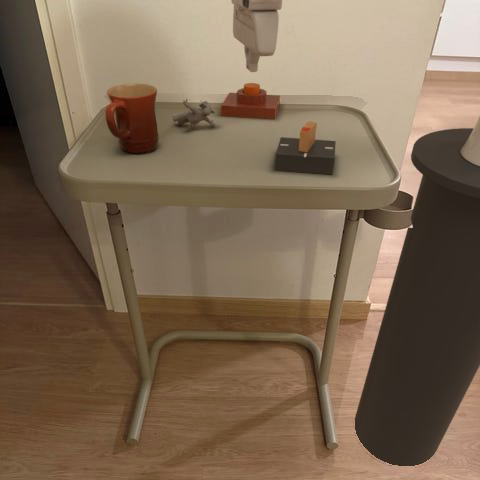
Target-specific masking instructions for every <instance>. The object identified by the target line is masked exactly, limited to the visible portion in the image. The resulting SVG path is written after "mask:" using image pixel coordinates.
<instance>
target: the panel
mask: <svg viewBox="0 0 480 480" xmlns="http://www.w3.org/2000/svg"><path fill="white" fill-rule="evenodd" d="M299 139H300V137H283V136H282V137H280V139H279V142H278V145H277V149H276V154H275V161H274V162H275V165H274V171H277V172H278V171H280V172H290V173H302V174H303V173H304V174H314V175H315V174H317V175H329V176H333V173H334V166H335V160H336V140H328V139H315V142H314V144H313V145H312V147H311V148H310V149H309V151H308V152H301V151H298V150H299Z"/></svg>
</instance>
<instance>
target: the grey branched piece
mask: <svg viewBox="0 0 480 480" xmlns="http://www.w3.org/2000/svg"><path fill="white" fill-rule="evenodd" d="M182 103H183V106H184V107H185V108H188V111H187V112H181V113H177V114H172V120H173V122H177V125H178V126H182V125H185V124H189V126H188V127H187V129H186V132H188V131H189V130H190V128H191V127H192V126H196V125H198V124H200V123H201V122H203V121H205V122H207V123H208V124H209V125H210V126H211V127H212V128H216V126H217V124H216V123H215V122H214V119H210V118H208V116H209V115H211V114H216V112H215V110H214V109H213V108H212V107H211V104H210V103H209V102H208V100H204V101H203V97H201V99H200V101H199V104H198V106H199V107H200V108H197V107H194V106H191V105H190V104H189V102H188V99H187V98H186V99H183V101H182Z"/></svg>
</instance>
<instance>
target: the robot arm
mask: <svg viewBox="0 0 480 480" xmlns="http://www.w3.org/2000/svg"><path fill="white" fill-rule="evenodd" d="M231 4H232V5H233V13H232V14H233V15H232V34H233V38H235V39H236V40H237V41H238V42H239V43H240V44H242V45H243V46H244V47H243V48H244V49H243V51H244V56H245V69H247V70H248V71H249V72H251V73H257V72H258V68H259V60H260V57H272V56H274V54H275V51H276V48H277V43H278V32H279V23H280V21H279V20H280V19H279V18H280V17H279V10H281V9H282V8H283V7H282V6H283V0H231ZM473 128H474V129H473V131H472V133H471V134H470V136H469V138H468V140H467V141H466V143H465V144H464V146H463V147H462V149H461V151H460V153H461V155H462V156H463V157H464V158H465V159H466V160H467V161H469V162H471V163H473V164H475V165H477V166H480V115H479V116H478V118H477V121H476V122H475V125H474V127H473Z"/></svg>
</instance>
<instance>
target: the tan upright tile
mask: <svg viewBox="0 0 480 480" xmlns="http://www.w3.org/2000/svg"><path fill="white" fill-rule="evenodd" d="M316 132H317V122H316V121H307V122H306V123H305V124H304V125H303V126H302V128H301V129H300V130H299V150H298V151H301V152H308V151H309V149H310V148H311V147H312V145H313V144H314V142H315V140H316V134H317V133H316Z"/></svg>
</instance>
